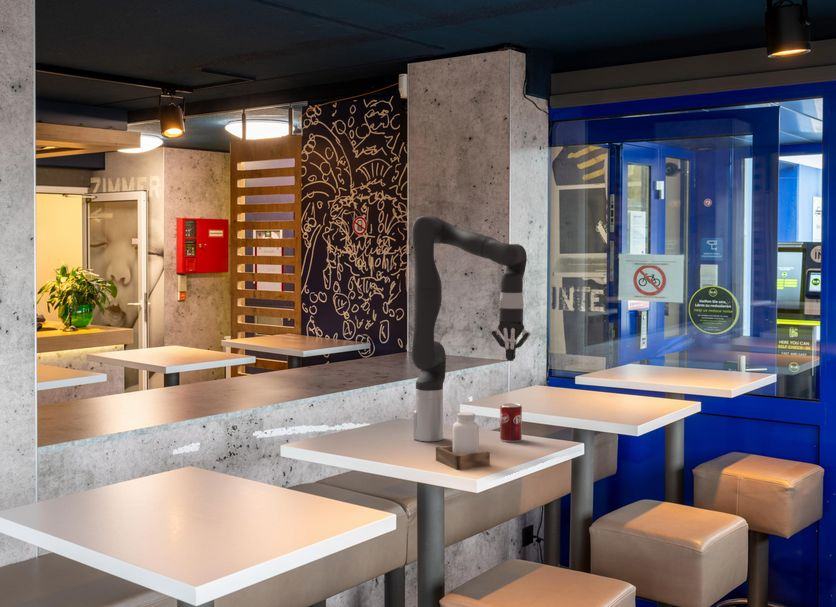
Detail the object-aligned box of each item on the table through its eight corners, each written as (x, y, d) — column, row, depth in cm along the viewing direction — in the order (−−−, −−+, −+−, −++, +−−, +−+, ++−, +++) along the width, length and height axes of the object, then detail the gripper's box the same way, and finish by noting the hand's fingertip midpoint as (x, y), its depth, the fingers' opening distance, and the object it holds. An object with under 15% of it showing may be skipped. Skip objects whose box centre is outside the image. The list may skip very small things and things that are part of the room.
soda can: (521, 438, 310) (521, 403, 309) (521, 442, 303) (522, 407, 302) (500, 438, 311) (500, 403, 310) (499, 442, 303) (500, 406, 303)
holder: (467, 456, 283) (467, 443, 283) (489, 465, 271) (489, 452, 271) (435, 460, 278) (435, 447, 278) (456, 469, 266) (456, 456, 266)
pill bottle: (482, 460, 277) (482, 412, 276) (474, 466, 270) (474, 416, 269) (457, 458, 280) (457, 410, 279) (448, 464, 273) (448, 414, 272)
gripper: (487, 306, 290) (487, 360, 291) (527, 308, 284) (527, 363, 285) (495, 305, 296) (494, 358, 298) (534, 306, 291) (533, 360, 292)
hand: (510, 360), depth 292 cm, fingers closed
